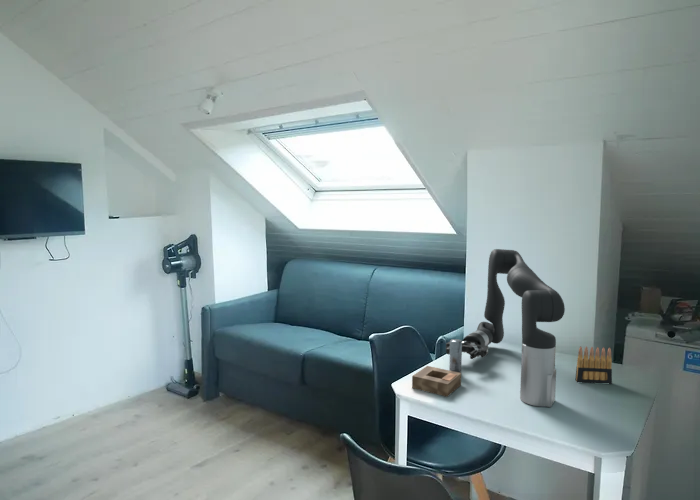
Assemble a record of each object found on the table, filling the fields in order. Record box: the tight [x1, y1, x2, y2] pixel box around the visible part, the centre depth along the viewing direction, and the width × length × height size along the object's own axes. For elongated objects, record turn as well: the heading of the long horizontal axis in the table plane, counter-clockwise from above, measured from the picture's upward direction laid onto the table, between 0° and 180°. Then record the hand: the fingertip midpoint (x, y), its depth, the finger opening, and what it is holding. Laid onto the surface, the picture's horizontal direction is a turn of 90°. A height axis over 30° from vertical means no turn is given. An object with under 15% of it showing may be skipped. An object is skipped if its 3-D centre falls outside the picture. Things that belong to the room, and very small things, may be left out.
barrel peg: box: [448, 338, 463, 374], centre depth 159 cm, size 4×4×12 cm
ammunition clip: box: [574, 346, 613, 385], centre depth 152 cm, size 11×2×12 cm, turn 82°
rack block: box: [411, 365, 462, 398], centre depth 149 cm, size 12×11×4 cm
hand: (459, 353), depth 161 cm, fingers open, 8 cm apart
